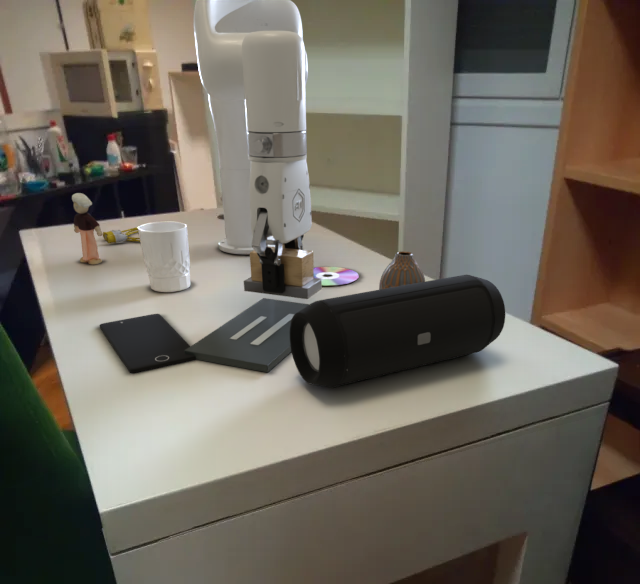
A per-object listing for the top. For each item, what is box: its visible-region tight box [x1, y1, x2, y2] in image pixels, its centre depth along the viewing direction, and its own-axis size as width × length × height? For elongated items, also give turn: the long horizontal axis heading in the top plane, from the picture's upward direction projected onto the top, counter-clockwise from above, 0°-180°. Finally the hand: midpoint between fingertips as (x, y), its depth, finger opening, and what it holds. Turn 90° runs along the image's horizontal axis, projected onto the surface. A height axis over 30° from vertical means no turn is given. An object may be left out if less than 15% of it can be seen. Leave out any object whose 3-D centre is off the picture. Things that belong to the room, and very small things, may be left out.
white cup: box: [137, 220, 192, 293], centre depth 99 cm, size 8×8×10 cm
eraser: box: [243, 246, 323, 300], centre depth 84 cm, size 10×5×6 cm, turn 67°
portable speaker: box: [290, 274, 506, 388], centre depth 71 cm, size 26×10×10 cm, turn 117°
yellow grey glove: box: [102, 226, 141, 244], centre depth 132 cm, size 12×16×2 cm
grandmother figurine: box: [71, 192, 103, 266], centre depth 112 cm, size 8×4×13 cm, turn 68°
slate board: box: [185, 297, 311, 373], centre depth 83 cm, size 22×12×1 cm, turn 157°
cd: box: [313, 266, 360, 287], centre depth 106 cm, size 11×11×1 cm
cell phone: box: [99, 313, 197, 375], centre depth 81 cm, size 9×18×1 cm, turn 30°
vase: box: [378, 250, 426, 290], centre depth 88 cm, size 7×7×9 cm
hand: (282, 284), depth 85 cm, fingers closed on eraser, 5 cm apart
